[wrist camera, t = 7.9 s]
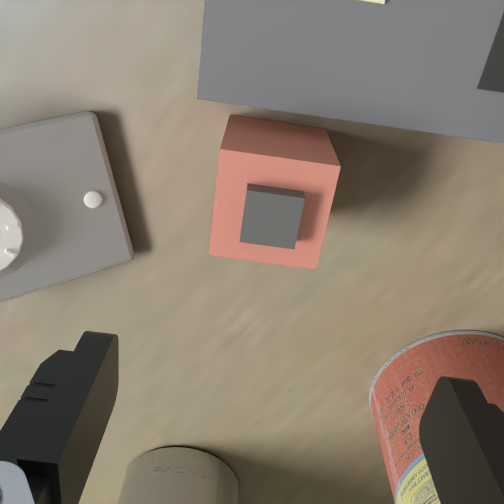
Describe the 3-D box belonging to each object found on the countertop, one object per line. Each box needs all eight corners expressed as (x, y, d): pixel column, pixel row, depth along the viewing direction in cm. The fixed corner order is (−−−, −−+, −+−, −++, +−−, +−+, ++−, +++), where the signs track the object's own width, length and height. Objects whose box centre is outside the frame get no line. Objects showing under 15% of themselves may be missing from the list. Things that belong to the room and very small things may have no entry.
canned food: (548, 421, 35) (670, 610, 24) (397, 464, 37) (448, 650, 27) (515, 305, 30) (650, 478, 19) (345, 363, 32) (383, 543, 22)
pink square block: (306, 215, 27) (317, 278, 21) (219, 203, 27) (206, 263, 21) (325, 128, 25) (343, 172, 19) (229, 114, 25) (218, 154, 19)
